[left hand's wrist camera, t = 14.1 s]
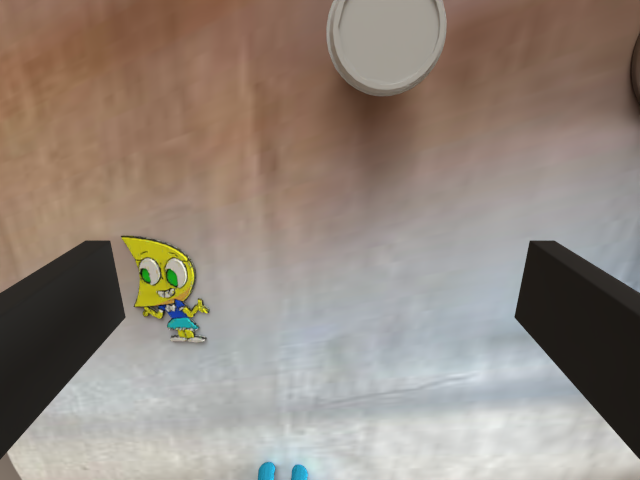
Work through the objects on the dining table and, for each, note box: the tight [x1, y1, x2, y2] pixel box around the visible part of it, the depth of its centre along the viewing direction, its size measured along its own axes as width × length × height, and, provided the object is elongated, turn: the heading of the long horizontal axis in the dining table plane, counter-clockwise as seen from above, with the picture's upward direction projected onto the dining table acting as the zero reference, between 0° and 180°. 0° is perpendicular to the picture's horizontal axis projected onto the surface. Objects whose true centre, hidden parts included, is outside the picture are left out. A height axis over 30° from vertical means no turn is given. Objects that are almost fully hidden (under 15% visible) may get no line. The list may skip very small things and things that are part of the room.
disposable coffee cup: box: [326, 0, 447, 96], centre depth 35 cm, size 10×10×12 cm
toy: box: [121, 236, 209, 343], centre depth 50 cm, size 10×1×15 cm
